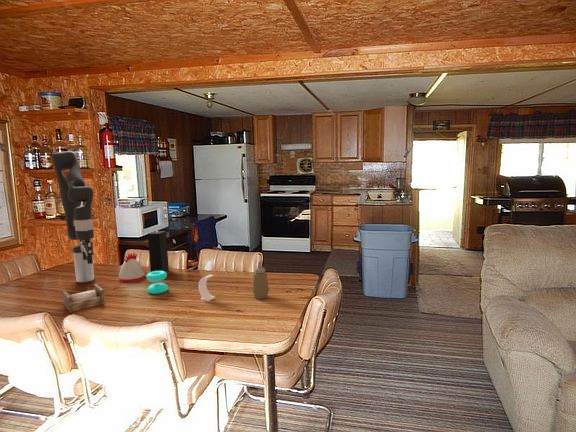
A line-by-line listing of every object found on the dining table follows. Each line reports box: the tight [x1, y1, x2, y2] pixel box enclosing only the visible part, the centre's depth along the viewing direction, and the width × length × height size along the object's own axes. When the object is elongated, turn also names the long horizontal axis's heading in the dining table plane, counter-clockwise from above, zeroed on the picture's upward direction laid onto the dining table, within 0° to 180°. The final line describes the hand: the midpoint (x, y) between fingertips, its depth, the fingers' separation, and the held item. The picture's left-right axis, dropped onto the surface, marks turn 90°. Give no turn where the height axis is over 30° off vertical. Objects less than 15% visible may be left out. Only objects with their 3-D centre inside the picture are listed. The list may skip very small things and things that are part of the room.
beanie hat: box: [118, 252, 146, 283], centre depth 217 cm, size 14×14×15 cm
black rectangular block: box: [147, 226, 170, 273], centre depth 228 cm, size 8×8×28 cm
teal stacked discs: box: [145, 271, 169, 295], centre depth 194 cm, size 10×10×10 cm
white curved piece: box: [197, 274, 216, 302], centre depth 181 cm, size 5×6×12 cm
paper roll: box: [70, 289, 97, 303], centre depth 178 cm, size 11×5×5 cm, turn 131°
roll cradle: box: [62, 283, 105, 313], centre depth 178 cm, size 15×12×7 cm
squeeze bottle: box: [252, 260, 270, 300], centre depth 181 cm, size 8×8×18 cm
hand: (88, 261), depth 180 cm, fingers open, 8 cm apart
